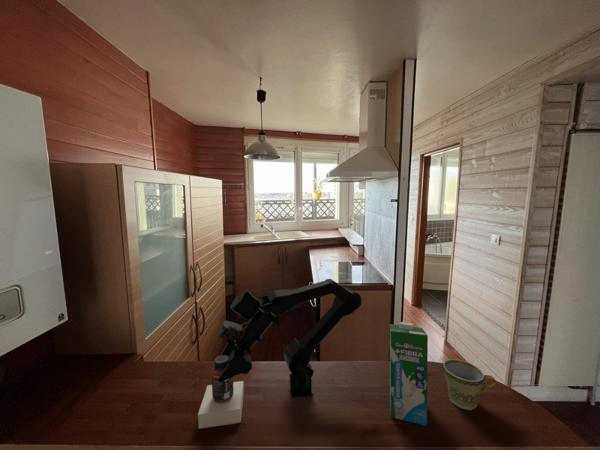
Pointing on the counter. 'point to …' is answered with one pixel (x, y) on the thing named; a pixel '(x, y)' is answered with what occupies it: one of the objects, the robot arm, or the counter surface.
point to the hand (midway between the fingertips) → (219, 370)
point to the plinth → (221, 408)
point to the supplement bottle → (221, 389)
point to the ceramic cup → (464, 383)
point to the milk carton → (408, 373)
